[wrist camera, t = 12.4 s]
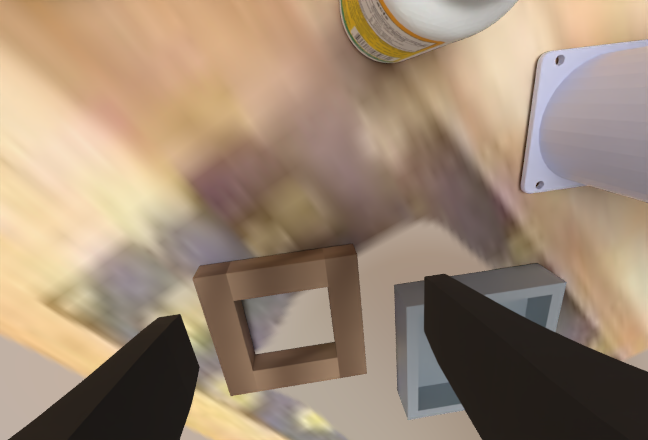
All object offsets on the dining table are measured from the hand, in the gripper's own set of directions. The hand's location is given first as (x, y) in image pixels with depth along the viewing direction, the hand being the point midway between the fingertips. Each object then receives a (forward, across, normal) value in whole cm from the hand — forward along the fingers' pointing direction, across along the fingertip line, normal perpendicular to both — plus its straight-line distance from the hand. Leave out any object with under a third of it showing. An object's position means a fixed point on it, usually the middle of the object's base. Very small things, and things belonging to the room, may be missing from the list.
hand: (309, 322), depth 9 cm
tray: (+10, -11, +12) cm, 19 cm away
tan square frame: (+10, +2, +8) cm, 13 cm away
